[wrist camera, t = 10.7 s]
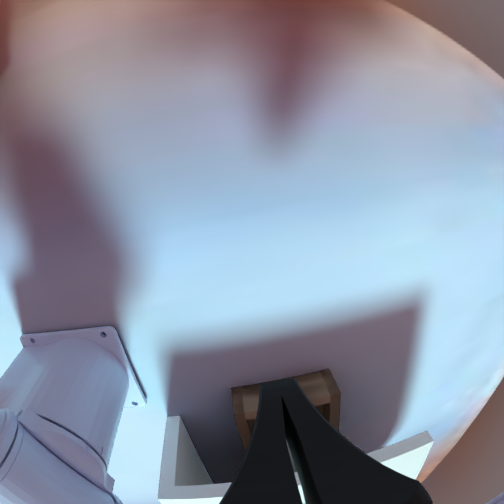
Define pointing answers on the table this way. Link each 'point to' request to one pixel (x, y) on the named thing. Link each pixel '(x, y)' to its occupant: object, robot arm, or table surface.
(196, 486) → the white shelf
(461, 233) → the table surface
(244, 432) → the walnut tray
